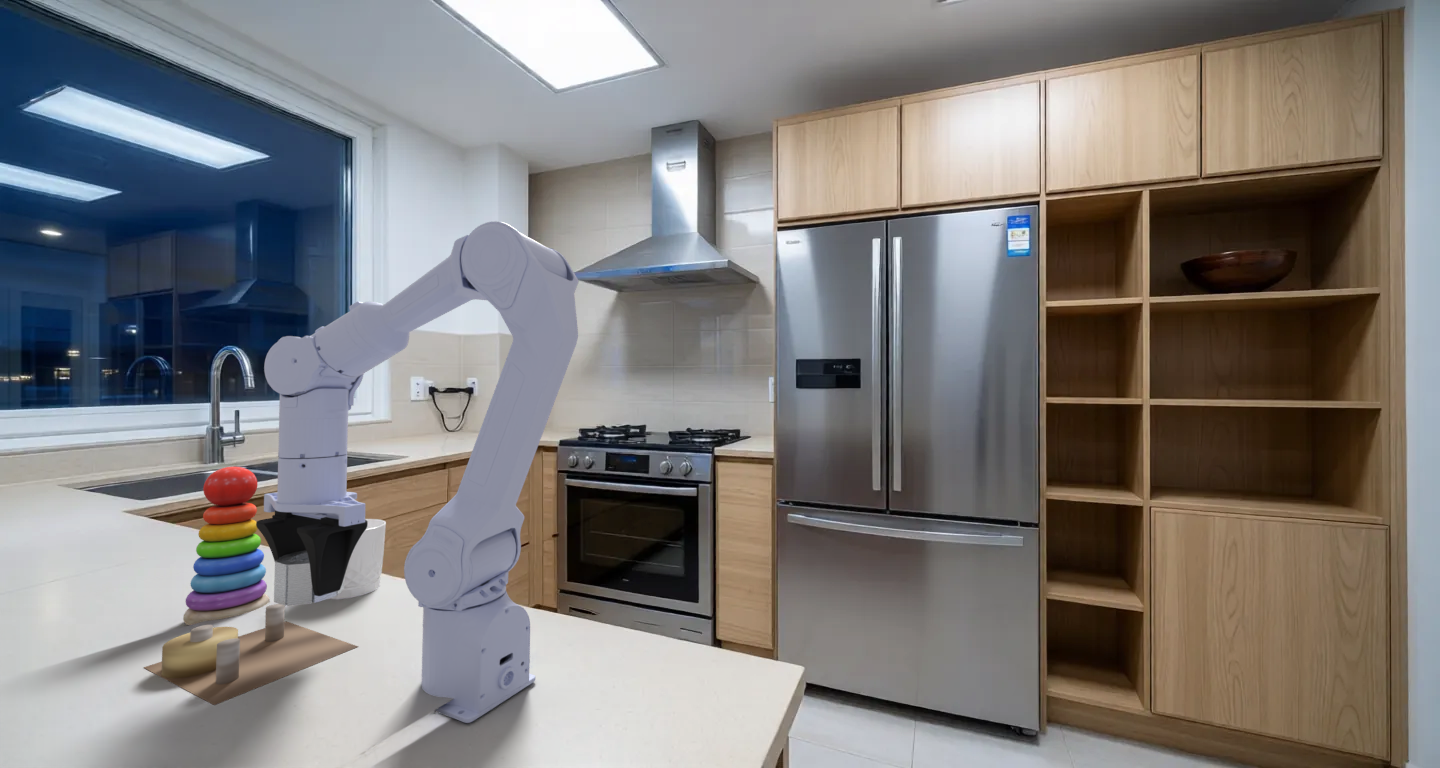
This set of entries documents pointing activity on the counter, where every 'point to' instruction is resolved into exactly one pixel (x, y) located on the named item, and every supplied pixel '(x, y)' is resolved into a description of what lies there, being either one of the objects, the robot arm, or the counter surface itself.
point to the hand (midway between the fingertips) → (310, 587)
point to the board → (242, 656)
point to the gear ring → (296, 581)
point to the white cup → (365, 562)
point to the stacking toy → (227, 551)
